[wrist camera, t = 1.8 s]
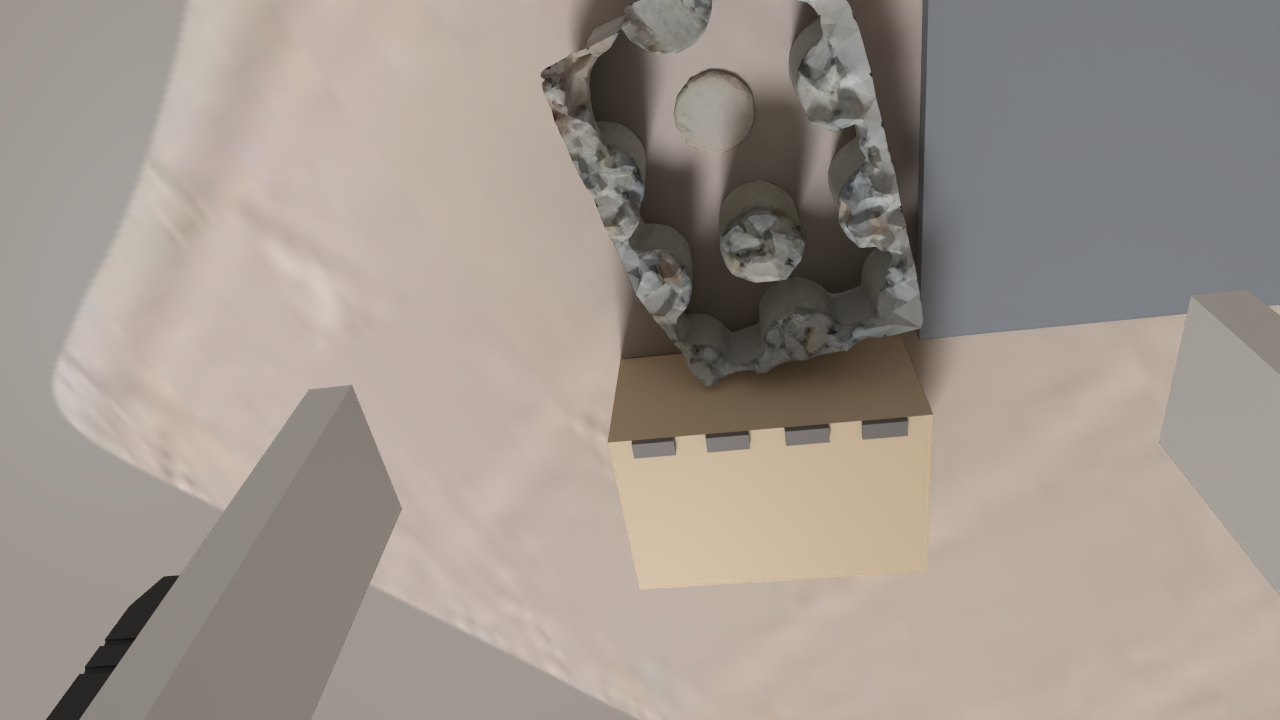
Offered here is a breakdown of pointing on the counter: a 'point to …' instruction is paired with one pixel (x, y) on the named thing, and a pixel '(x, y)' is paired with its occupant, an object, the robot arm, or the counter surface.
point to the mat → (1095, 160)
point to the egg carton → (749, 194)
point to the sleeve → (774, 468)
